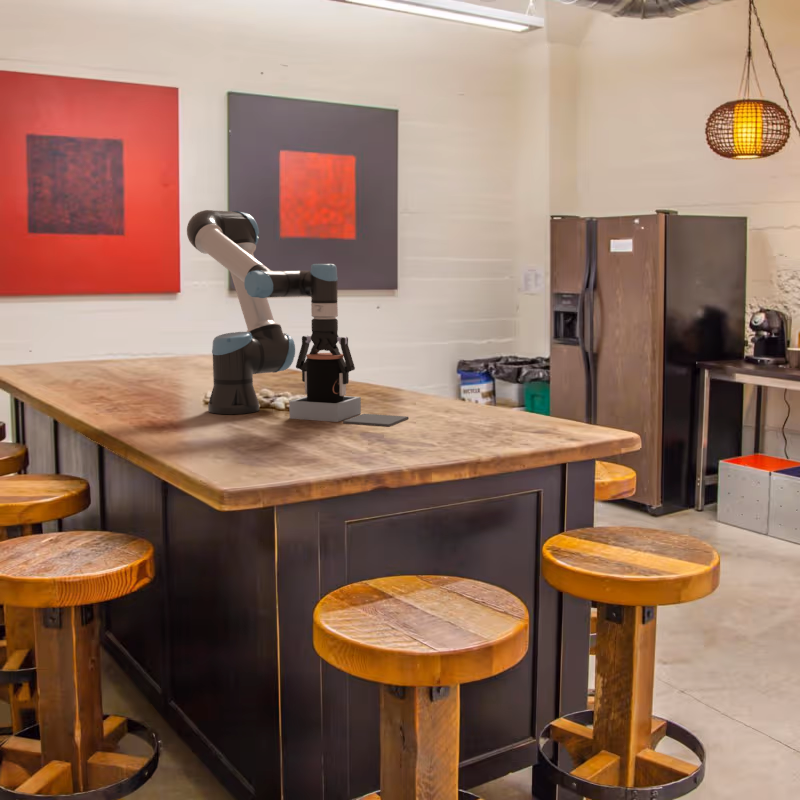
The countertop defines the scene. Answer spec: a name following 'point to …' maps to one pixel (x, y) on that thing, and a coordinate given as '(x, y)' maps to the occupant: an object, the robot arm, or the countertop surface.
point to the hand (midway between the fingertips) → (325, 394)
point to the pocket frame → (325, 409)
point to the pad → (375, 419)
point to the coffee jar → (323, 378)
